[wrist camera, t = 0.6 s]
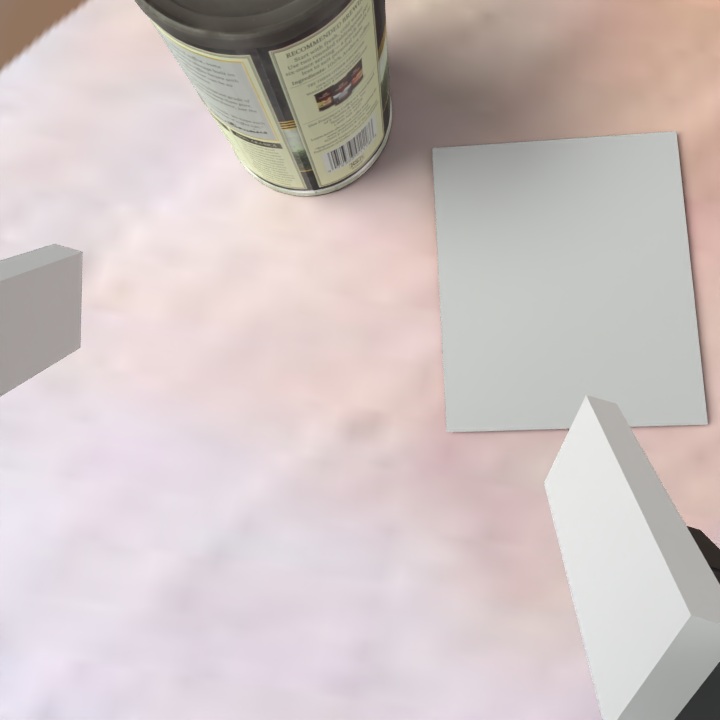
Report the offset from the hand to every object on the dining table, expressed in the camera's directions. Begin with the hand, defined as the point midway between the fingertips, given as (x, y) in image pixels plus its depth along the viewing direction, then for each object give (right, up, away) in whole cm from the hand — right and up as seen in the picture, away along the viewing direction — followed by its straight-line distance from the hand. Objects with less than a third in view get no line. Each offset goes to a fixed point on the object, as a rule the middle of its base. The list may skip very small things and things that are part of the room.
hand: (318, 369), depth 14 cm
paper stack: (+17, +1, +17) cm, 24 cm away
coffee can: (-2, +15, +20) cm, 25 cm away
